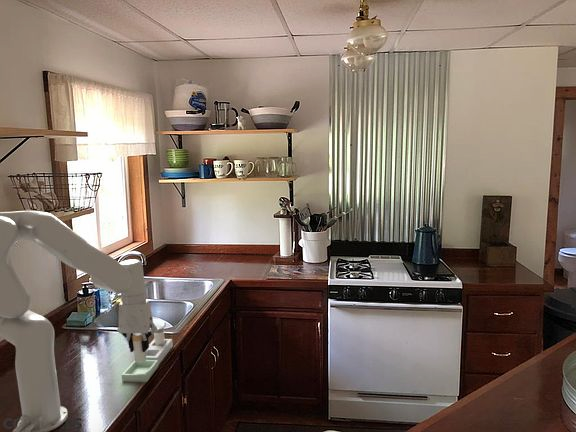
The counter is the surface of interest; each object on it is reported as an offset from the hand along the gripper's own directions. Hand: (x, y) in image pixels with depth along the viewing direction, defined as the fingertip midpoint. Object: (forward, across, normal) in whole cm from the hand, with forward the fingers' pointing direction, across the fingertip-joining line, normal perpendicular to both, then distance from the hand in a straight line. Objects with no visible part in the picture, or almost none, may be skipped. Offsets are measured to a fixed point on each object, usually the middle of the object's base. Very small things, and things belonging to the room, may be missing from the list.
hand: (139, 349), depth 154 cm
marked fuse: (+4, 0, 0) cm, 4 cm away
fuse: (+9, 0, +17) cm, 19 cm away
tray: (+9, 0, 0) cm, 9 cm away
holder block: (+9, 0, +13) cm, 16 cm away
